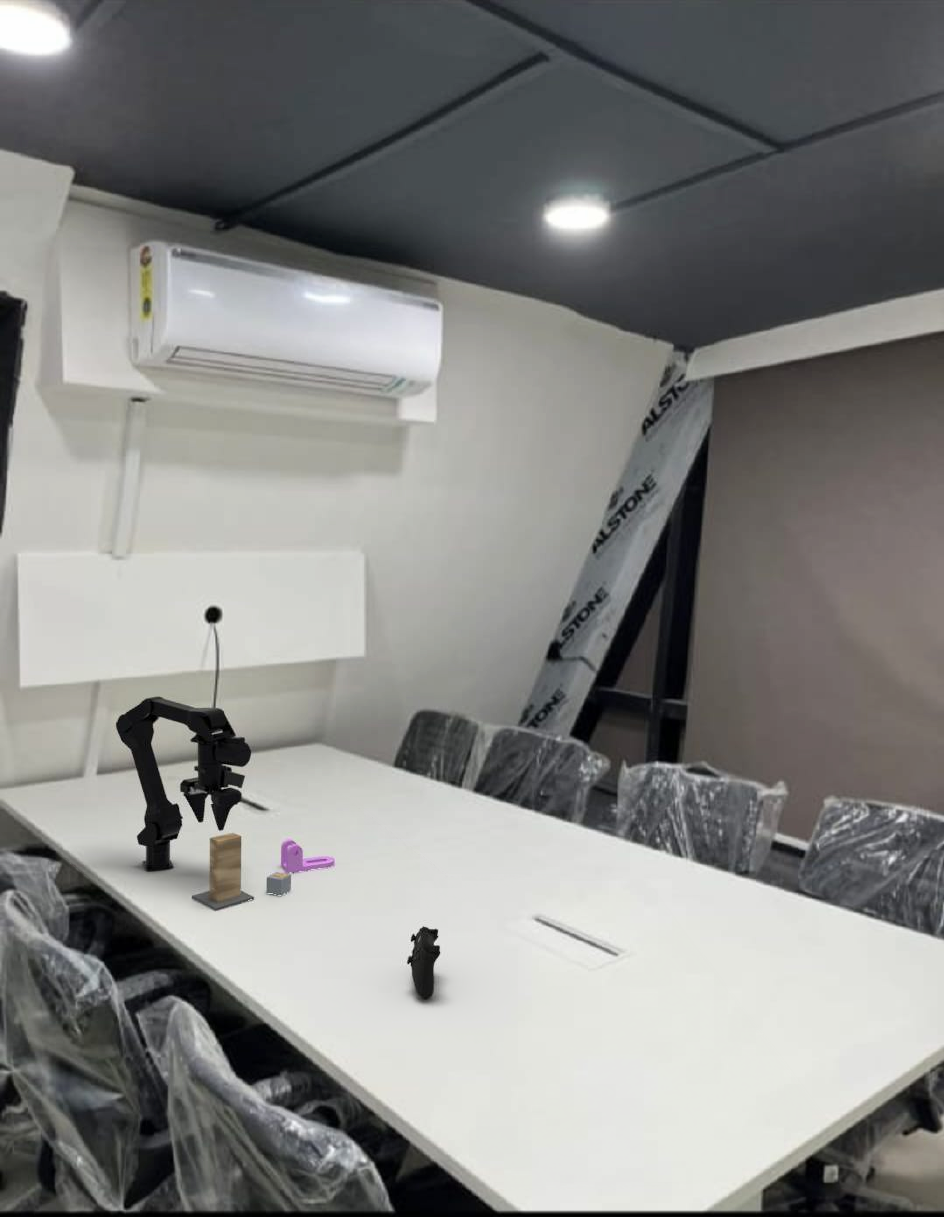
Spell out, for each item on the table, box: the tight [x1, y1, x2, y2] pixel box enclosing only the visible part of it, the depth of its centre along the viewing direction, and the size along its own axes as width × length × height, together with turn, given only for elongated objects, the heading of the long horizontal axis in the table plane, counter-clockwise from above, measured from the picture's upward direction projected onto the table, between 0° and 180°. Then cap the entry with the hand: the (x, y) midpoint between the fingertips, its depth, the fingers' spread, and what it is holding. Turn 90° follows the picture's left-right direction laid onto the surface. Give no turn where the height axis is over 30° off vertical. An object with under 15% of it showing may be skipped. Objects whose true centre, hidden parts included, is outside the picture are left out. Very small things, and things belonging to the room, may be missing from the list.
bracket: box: [280, 838, 336, 874], centre depth 250 cm, size 13×6×7 cm, turn 119°
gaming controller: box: [406, 926, 441, 1000], centre depth 187 cm, size 14×6×10 cm, turn 5°
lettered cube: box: [266, 871, 292, 896], centre depth 232 cm, size 4×4×4 cm
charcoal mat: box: [191, 890, 255, 911], centre depth 227 cm, size 10×10×1 cm
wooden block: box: [208, 832, 242, 902], centre depth 226 cm, size 4×6×14 cm, turn 136°
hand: (210, 826), depth 238 cm, fingers open, 9 cm apart
